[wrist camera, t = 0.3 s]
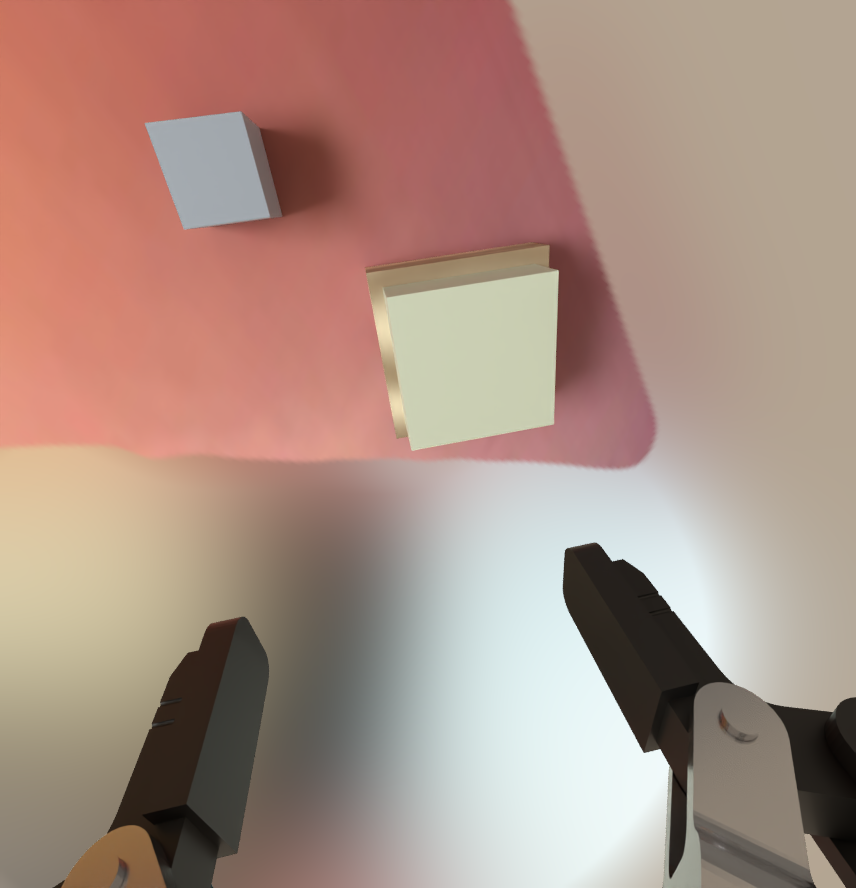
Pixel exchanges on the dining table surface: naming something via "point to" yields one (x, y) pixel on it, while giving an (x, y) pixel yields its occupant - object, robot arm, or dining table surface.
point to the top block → (475, 353)
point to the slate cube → (215, 169)
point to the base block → (431, 271)
